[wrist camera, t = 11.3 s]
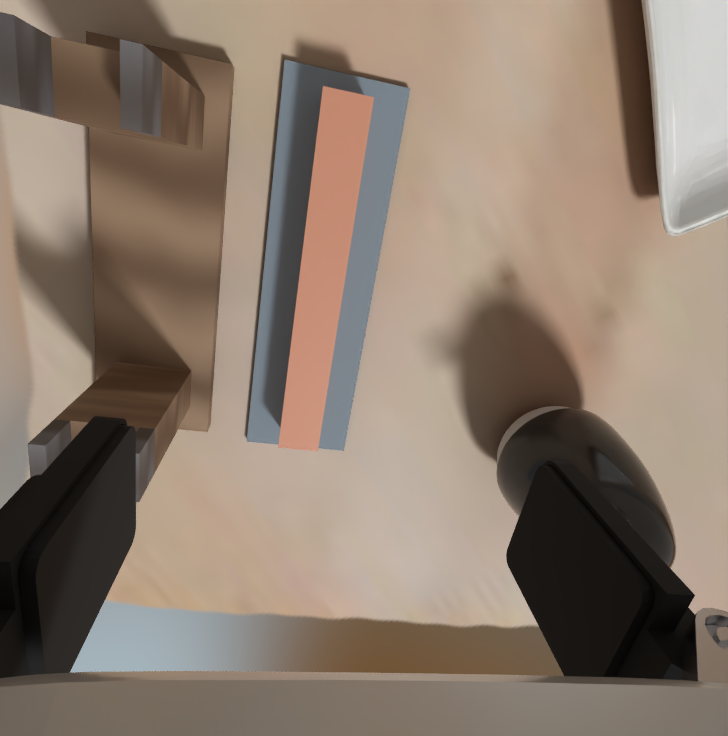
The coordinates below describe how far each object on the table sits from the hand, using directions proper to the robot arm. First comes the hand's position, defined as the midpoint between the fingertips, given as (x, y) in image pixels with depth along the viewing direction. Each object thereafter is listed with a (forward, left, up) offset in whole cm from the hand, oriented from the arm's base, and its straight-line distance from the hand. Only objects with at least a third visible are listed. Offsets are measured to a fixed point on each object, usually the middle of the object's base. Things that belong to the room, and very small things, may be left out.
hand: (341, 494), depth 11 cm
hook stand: (0, -11, -25) cm, 28 cm away
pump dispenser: (+11, +21, -26) cm, 35 cm away
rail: (0, 0, -25) cm, 25 cm away
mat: (0, 0, -25) cm, 25 cm away
